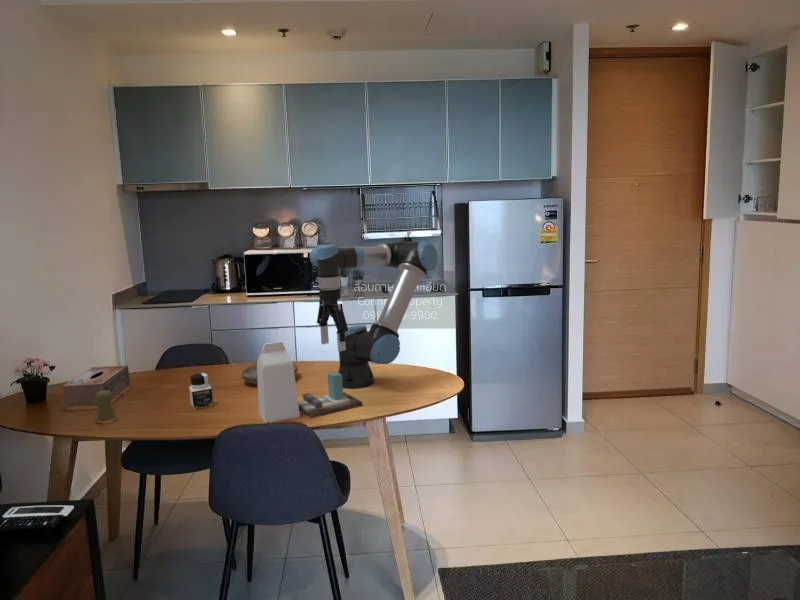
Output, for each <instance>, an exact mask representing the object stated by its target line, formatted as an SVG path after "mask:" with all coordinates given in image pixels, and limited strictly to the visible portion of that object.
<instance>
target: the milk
mask: <svg viewBox="0 0 800 600" xmlns="http://www.w3.org/2000/svg"><path fill="white" fill-rule="evenodd" d="M293 364H294V363H293V362H292V359H291V357H290V355H289V353H288V351H287V350H286V347H285V344H284V343H283V341H275V342H268V343H264V344H263V347H262V348H261V352H260V354H259V357H258V359H257V361H256V365H257V380H258V384H257V397H258V400H257V401H258V402H257V404H258V414H259V415H260V417H261V419H262V421H263V422H264V424H267V423H266V422H270V423H275V422H279V421H286V420H290V419H296V418H300V417H301V413H300V410H299V406H298V402H299V400H298V392H297V384H296V377H295V375H294V368H293Z"/></svg>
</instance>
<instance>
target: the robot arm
mask: <svg viewBox="0 0 800 600" xmlns="http://www.w3.org/2000/svg"><path fill="white" fill-rule="evenodd" d="M309 260H310V263H311V264H312V266H314V267H317V278H318V280H317V283H318V288H319V290H318V292H319V293H318V295H319V300H318V302H319V303H318V305H319V307H318V314H317V319H316V323H317V324H318V325H319V327H320V328H319V329H320V343H321V345H326V344H327V345H328V344H329V343H330V339H329V327H328V326H329V323H328V322H329V319H330V317H331V318H332V320H333V322H334V325H335V328H336V330H337V331H336V332H335V333H336V340H337V341H336V342H337V351H338V357H339V368H338V371H337V372H338V373H340V374H342V385H343V389H361V388H365V387H368V386H371V385H373V384H374V382H375V376H374V374H373V372H372V368H371V366H370V363H374V364H377V365H388V364H391V363H392V362H394V361H395V360H396V358H398V356H399V354H400V351H401V342H400V339H399V338H400V334H399V332H398V330H399V329H400V326H401V324H402V321H403V318H404V317H405V315H406V313H407V309H408V308H409V305H410V303H411V301H412V299H413V296H414V294H415V292H416V288H417V287H418V285H419V282H420V281H421V280H423V279H425V278H426V276H427V273H428V272H431V271H434V270H435V269H436V267H437V265H438V262H439V255H438V251H437V249H436V246H435V245H434V244H433V243H431V242H429V241H423V240H422V241H406V240H405V241H404V240H402V241H396V242H389V243H379V244H377V245H375V246H373V245H371V246H362V245H361V246H338V244H333V243H331V244H319V245H318V246H316V247H314V248H312V250H311V251H310V253H309ZM374 265H375V266H377V265H378V266H379V267H382V268H385V267H386V268H395V269H399V274H398V276H397V278H396V280H395V282H394V284H393V287H392V289H391V290H390V291H391V292H390V293H389V296H388V298H387V300H386V302H385V305H384V306H383V309H382V311H381V313H380V315H379V318H378V320H377V321H376V322H374V323H372V324H371V326H370V327H369V330H368V328H367V326H366V325H353V326H348V324H347V321H346V316H345V312H344V308H343V303H339V302H338V300H340V299H341V298H342V294H341V293H342V291H341V288H340V287H341V277H340V271H342V270H348V269H356V268H360V267H363V266H374Z"/></svg>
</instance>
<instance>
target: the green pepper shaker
mask: <svg viewBox="0 0 800 600" xmlns="http://www.w3.org/2000/svg"><path fill="white" fill-rule="evenodd" d="M111 397H112V394H111V392H110V391H109V390H102V391H99V392H97V393H96V395H95V398H96V400H97V401H98V409H97V417H96V419H98V420H99V421H107V420H111V419H114V418H115V417H116V414H115V411H114V406H113V403H111Z"/></svg>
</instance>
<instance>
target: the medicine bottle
mask: <svg viewBox="0 0 800 600" xmlns="http://www.w3.org/2000/svg"><path fill="white" fill-rule="evenodd" d="M188 390H189V391H188V392H189V401H190V406H191V407H192V409H193V408H194V409H193V410H197V409H196V408H199V409H202V408H201V407H205V408H207V407H206V406H210V407H213V406H214V397H213V388H212V387H211V385H210V384H209V377H208V374H207V373H205V372H198V373H194V374H192V375H191V376H190V386H188ZM212 405H213V406H212Z"/></svg>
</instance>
